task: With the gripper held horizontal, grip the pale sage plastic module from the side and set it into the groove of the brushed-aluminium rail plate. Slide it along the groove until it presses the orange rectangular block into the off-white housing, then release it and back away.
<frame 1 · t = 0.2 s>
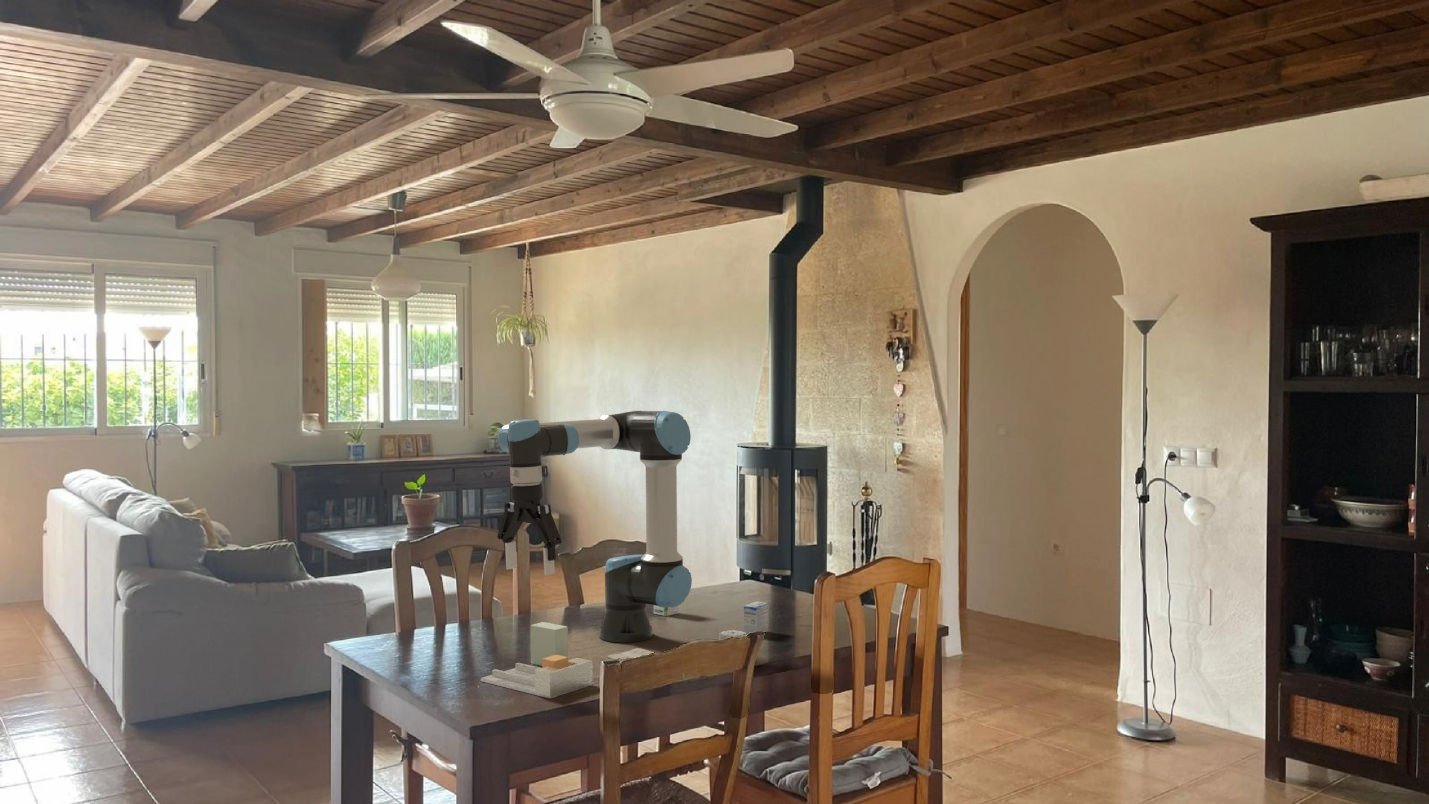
hand: (530, 571, 255), 27 cm above the table, tool pointing down, fingers open, 13 cm apart
medicine box: (756, 634, 305), on the table
orange rectangular block: (555, 670, 252), point 4 cm above the table, slide at 0.0 cm
mechanical component: (732, 649, 289), on the table
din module: (549, 664, 273), on the table
rail plate: (536, 683, 256), on the table
syrup box: (666, 614, 332), on the table
washcloth: (643, 667, 272), on the table
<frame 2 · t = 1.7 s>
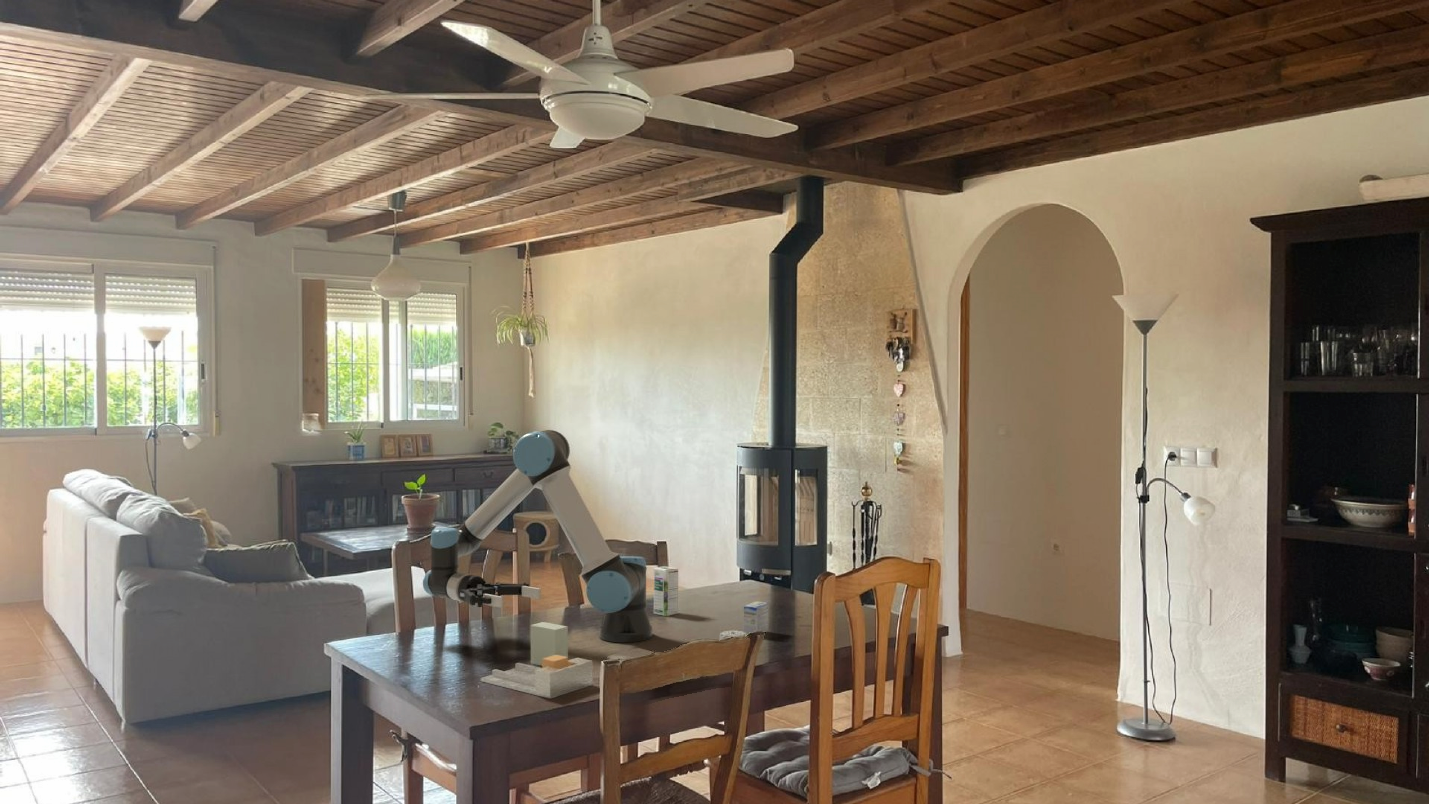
hand: (520, 598, 279), 16 cm above the table, tool horizontal, fingers open, 13 cm apart
nothing on the table moved.
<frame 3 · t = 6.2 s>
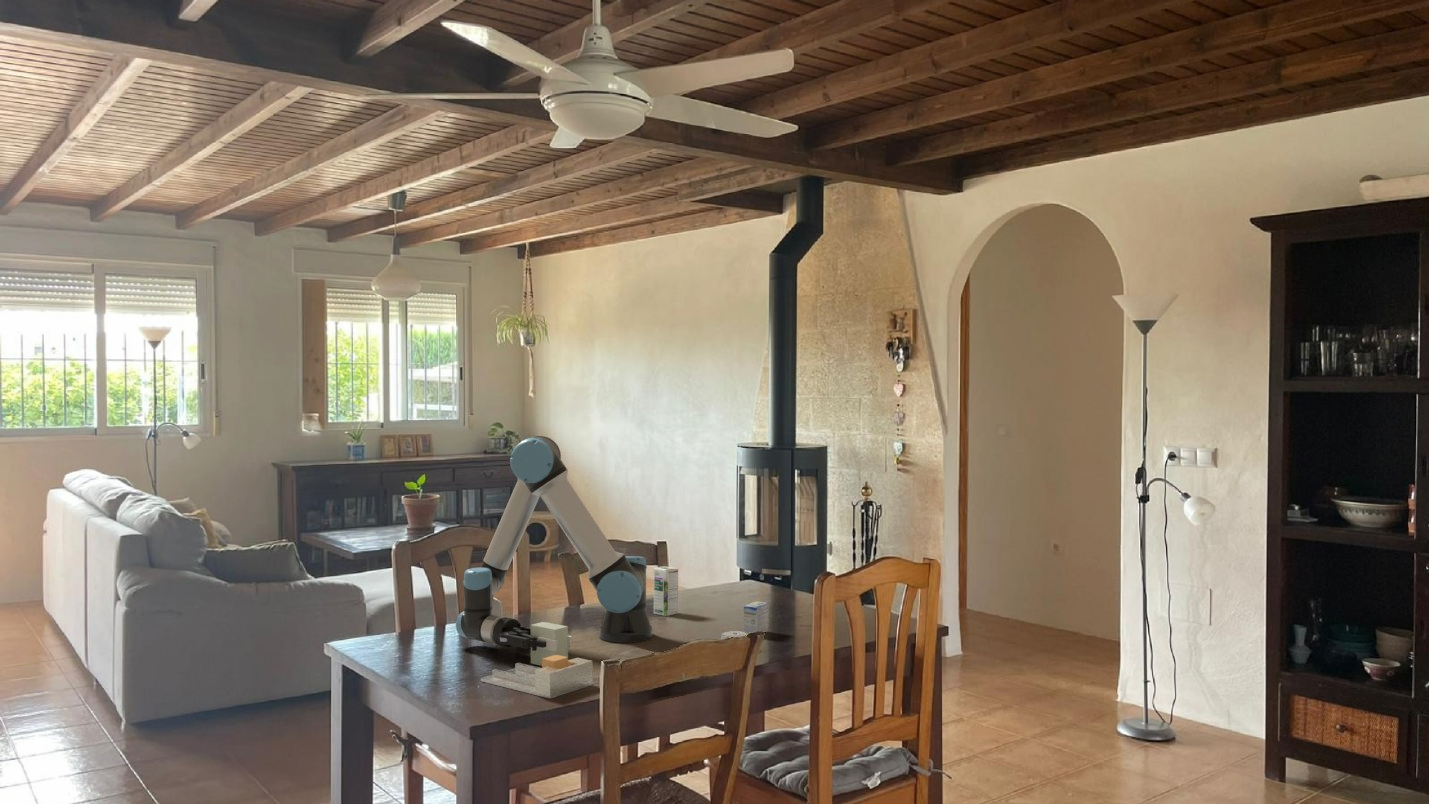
hand: (563, 643, 269), 6 cm above the table, tool horizontal, fingers closed on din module, 4 cm apart
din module: (549, 664, 273), on the table, touching gripper
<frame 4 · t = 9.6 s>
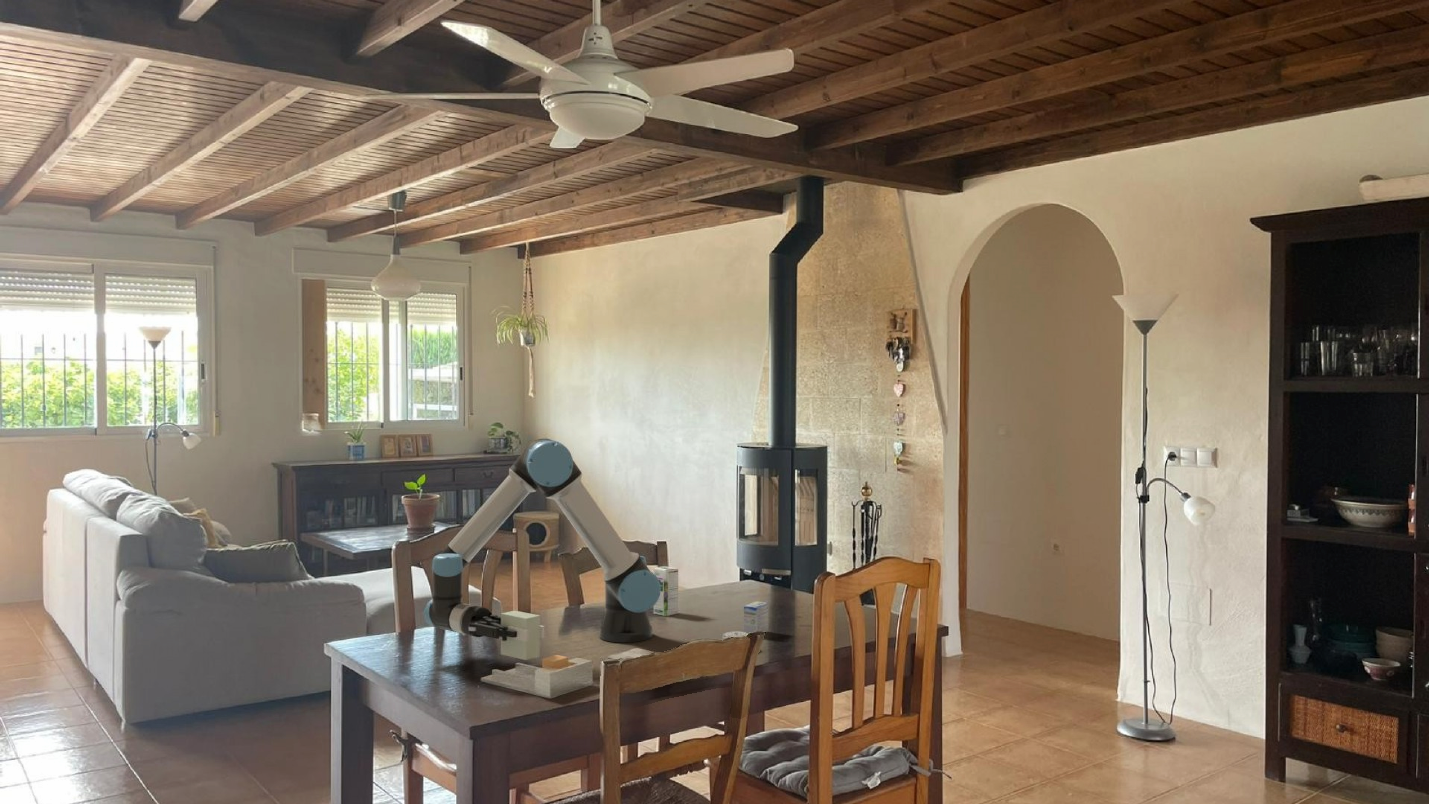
hand: (535, 633, 255), 12 cm above the table, tool horizontal, fingers closed on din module, 4 cm apart
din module: (520, 655, 258), point 6 cm above the table, touching gripper
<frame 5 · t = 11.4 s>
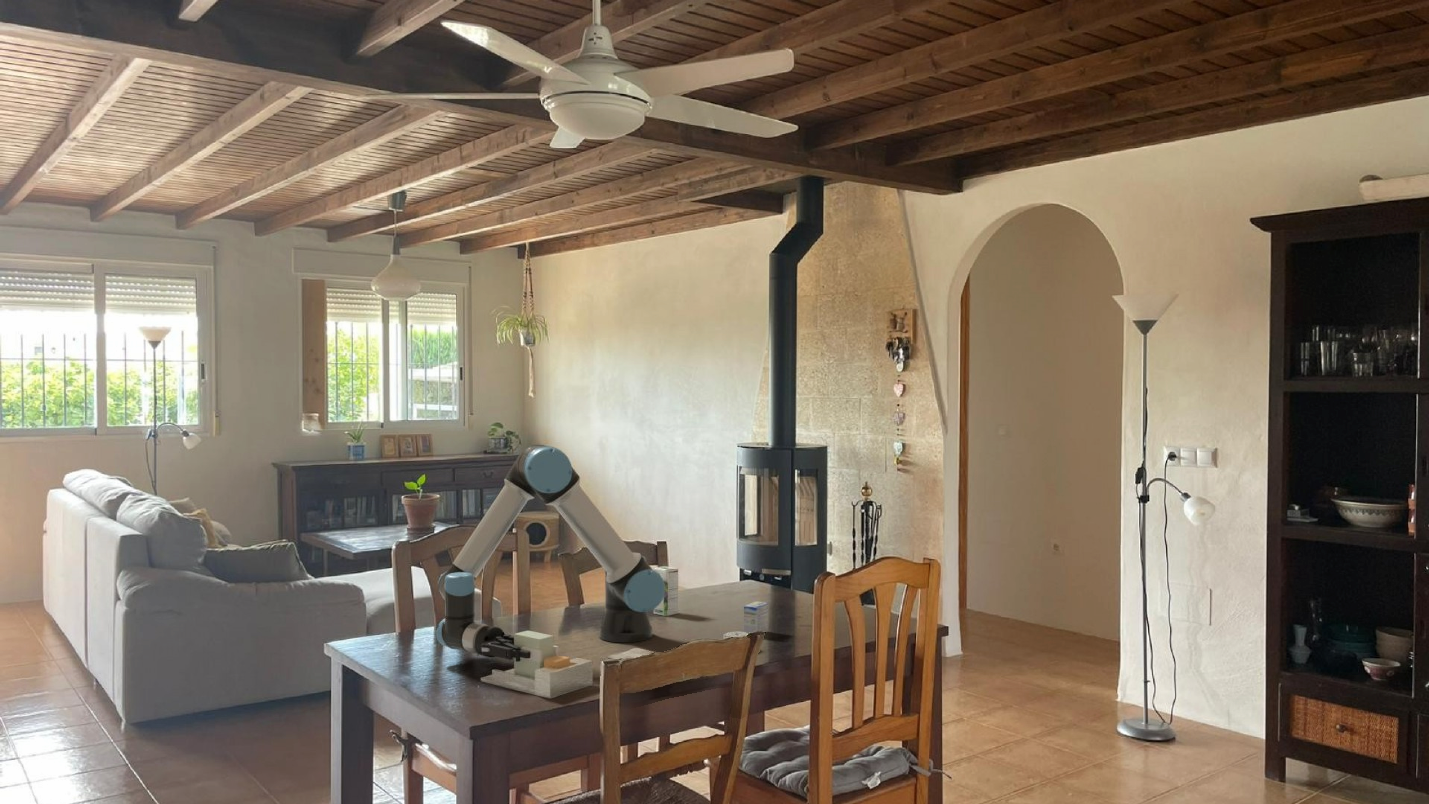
hand: (549, 654, 252), 8 cm above the table, tool horizontal, fingers closed on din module, 4 cm apart
orange rectangular block: (556, 670, 251), point 4 cm above the table, slide at 0.6 cm, touching gripper
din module: (533, 676, 256), point 2 cm above the table, touching gripper
when the fingers open (7 cm above the table, at t = 13.0 s): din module stays where it is, resting on rail plate.
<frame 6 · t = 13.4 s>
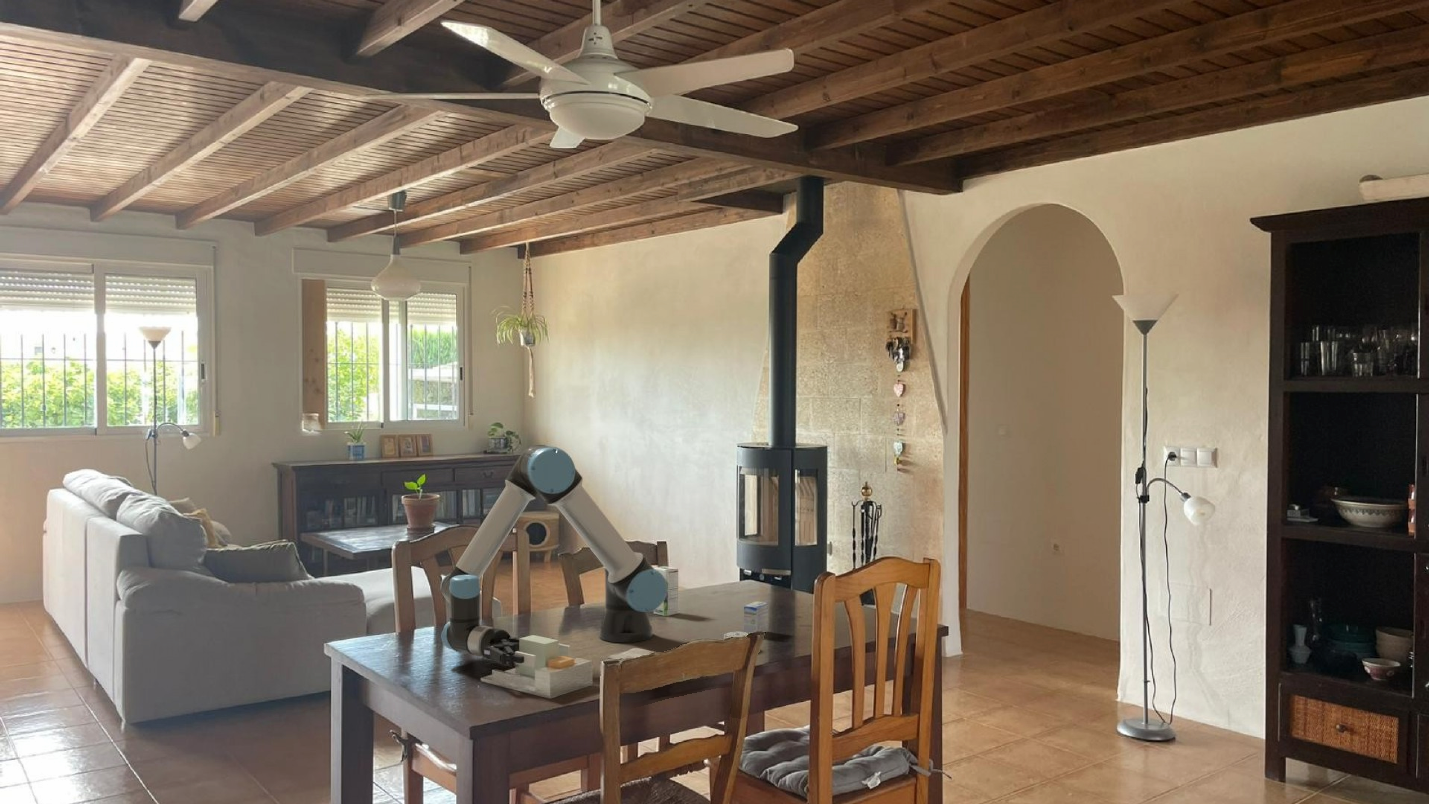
hand: (552, 656, 252), 7 cm above the table, tool horizontal, fingers open, 10 cm apart
orange rectangular block: (561, 671, 250), point 4 cm above the table, slide at 2.1 cm
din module: (539, 680, 255), point 1 cm above the table, touching rail plate
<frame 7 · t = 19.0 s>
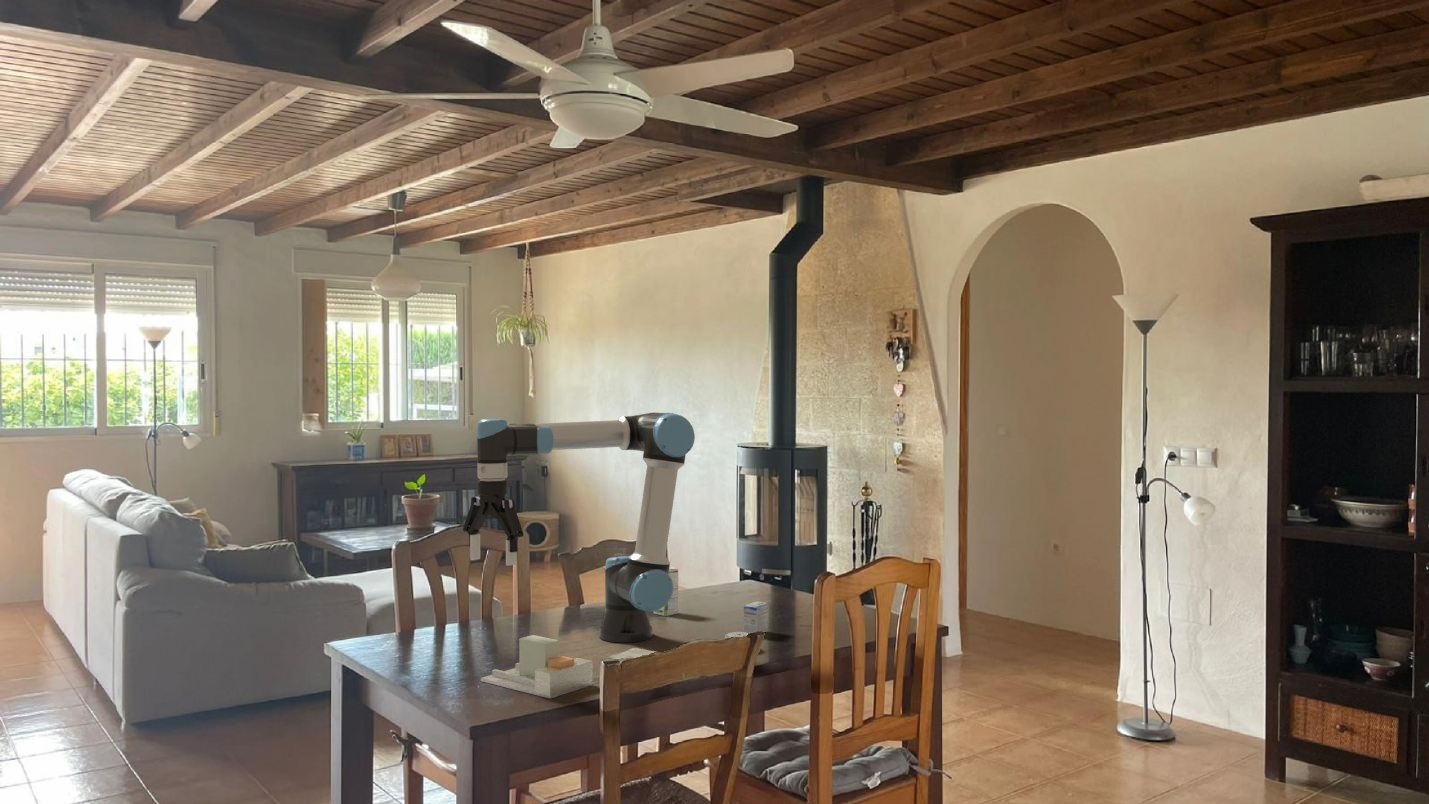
hand: (492, 562, 270), 27 cm above the table, tool pointing down, fingers open, 13 cm apart
at the end: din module 0.6 cm from the target spot on the rail plate, point 0.8 cm above the rail plate's base; orange rectangular block slide at 2.1 cm; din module tilted 0° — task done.
